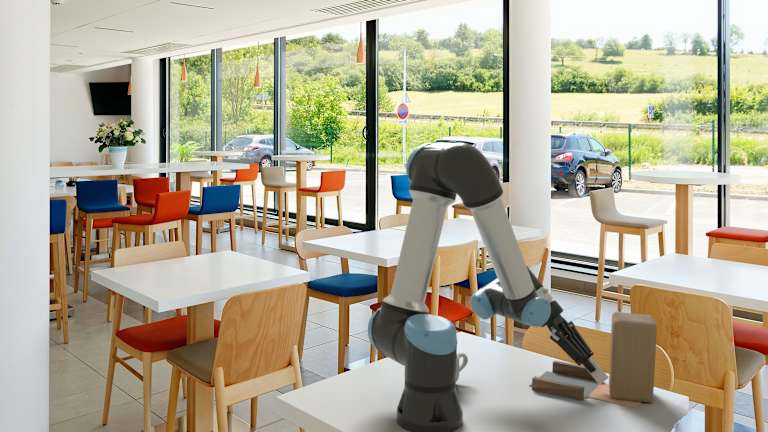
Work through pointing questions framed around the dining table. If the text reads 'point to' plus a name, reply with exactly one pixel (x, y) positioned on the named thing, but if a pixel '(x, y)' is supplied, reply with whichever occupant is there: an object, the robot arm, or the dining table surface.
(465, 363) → the teacup
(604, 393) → the tile
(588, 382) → the grey square panel
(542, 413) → the dining table surface
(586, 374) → the lane rails
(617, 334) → the wooden block
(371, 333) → the robot arm
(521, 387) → the dining table surface
